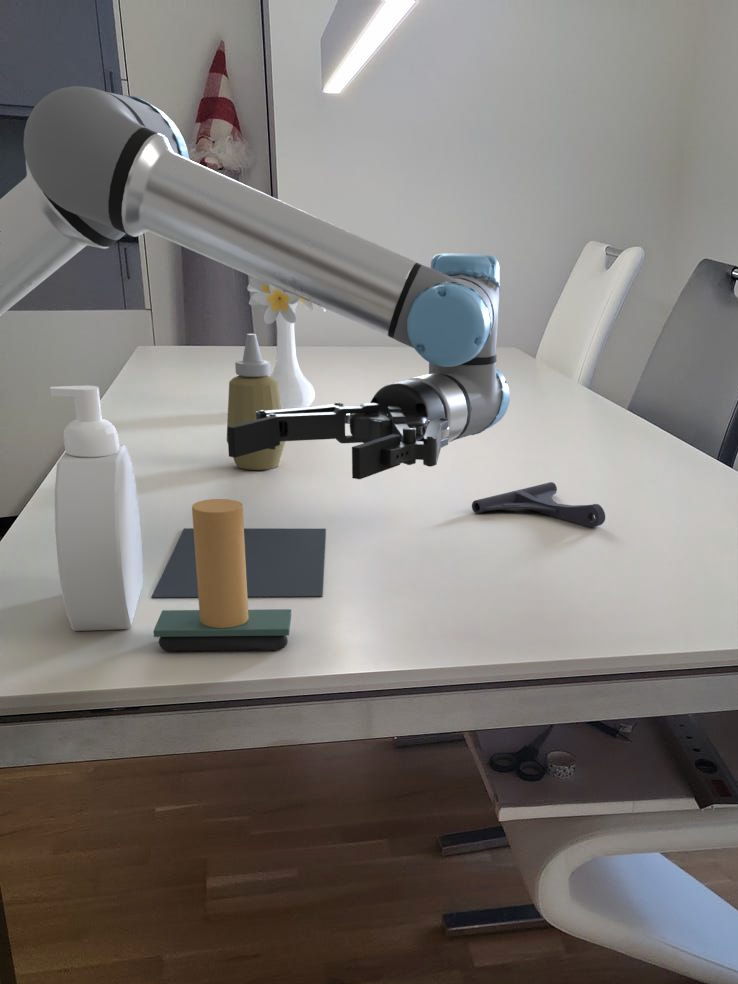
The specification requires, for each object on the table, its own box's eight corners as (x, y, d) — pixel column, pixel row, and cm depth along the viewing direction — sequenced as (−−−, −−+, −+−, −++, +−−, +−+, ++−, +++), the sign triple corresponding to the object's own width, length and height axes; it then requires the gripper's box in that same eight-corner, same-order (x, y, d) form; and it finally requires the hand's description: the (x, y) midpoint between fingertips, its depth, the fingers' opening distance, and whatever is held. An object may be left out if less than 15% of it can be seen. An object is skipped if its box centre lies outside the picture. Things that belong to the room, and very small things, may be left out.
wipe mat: (151, 598, 98) (151, 597, 97) (183, 529, 118) (183, 528, 118) (322, 596, 100) (322, 595, 100) (325, 529, 120) (325, 528, 120)
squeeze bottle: (258, 456, 151) (253, 329, 144) (298, 466, 147) (294, 335, 140) (215, 466, 145) (207, 333, 138) (255, 476, 140) (249, 339, 133)
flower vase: (253, 425, 171) (246, 265, 161) (252, 404, 188) (245, 258, 178) (332, 424, 174) (330, 267, 164) (324, 404, 190) (321, 260, 180)
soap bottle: (89, 578, 102) (65, 372, 94) (145, 577, 103) (126, 372, 95) (62, 642, 87) (32, 405, 79) (128, 640, 88) (104, 405, 80)
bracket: (562, 540, 119) (564, 517, 118) (471, 511, 129) (472, 490, 127) (636, 519, 129) (639, 497, 128) (547, 494, 138) (548, 473, 137)
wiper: (155, 655, 86) (142, 513, 81) (164, 633, 90) (152, 497, 85) (289, 653, 87) (284, 513, 82) (292, 632, 91) (287, 498, 87)
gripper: (521, 467, 104) (412, 516, 87) (320, 435, 115) (186, 473, 97) (525, 392, 101) (413, 427, 84) (318, 366, 112) (180, 393, 95)
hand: (291, 452), depth 91 cm, fingers open, 13 cm apart
